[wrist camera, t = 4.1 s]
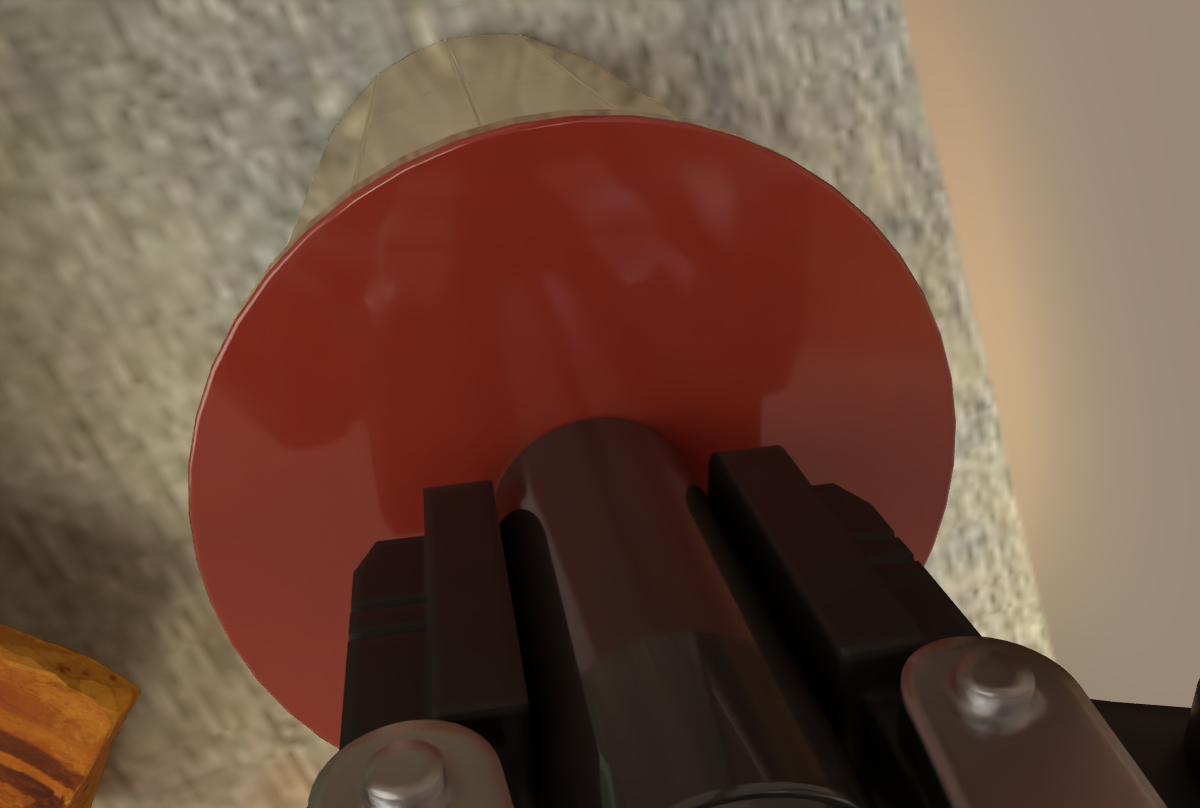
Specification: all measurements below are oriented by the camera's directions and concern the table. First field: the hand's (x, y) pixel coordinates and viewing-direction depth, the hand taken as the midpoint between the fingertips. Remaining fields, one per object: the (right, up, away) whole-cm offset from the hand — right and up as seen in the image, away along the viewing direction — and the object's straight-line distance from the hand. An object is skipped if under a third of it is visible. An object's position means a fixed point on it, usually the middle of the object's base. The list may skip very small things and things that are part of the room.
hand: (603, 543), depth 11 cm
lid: (0, +1, +1) cm, 1 cm away
